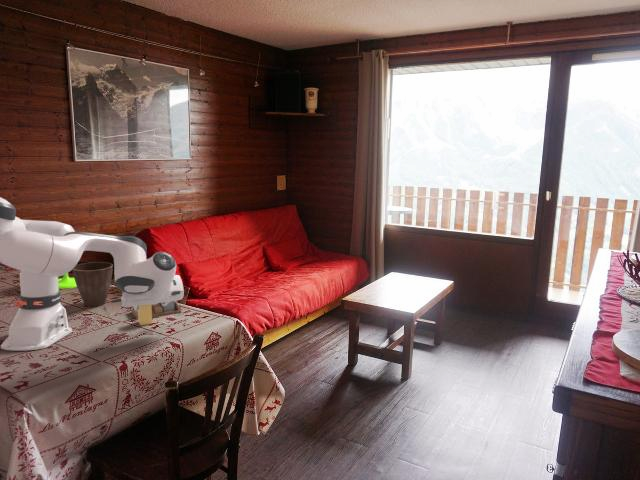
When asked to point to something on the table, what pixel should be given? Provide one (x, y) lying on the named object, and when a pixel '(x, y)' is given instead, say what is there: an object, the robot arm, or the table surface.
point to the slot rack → (160, 310)
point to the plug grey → (168, 307)
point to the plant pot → (93, 282)
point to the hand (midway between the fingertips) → (150, 306)
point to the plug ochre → (145, 314)
